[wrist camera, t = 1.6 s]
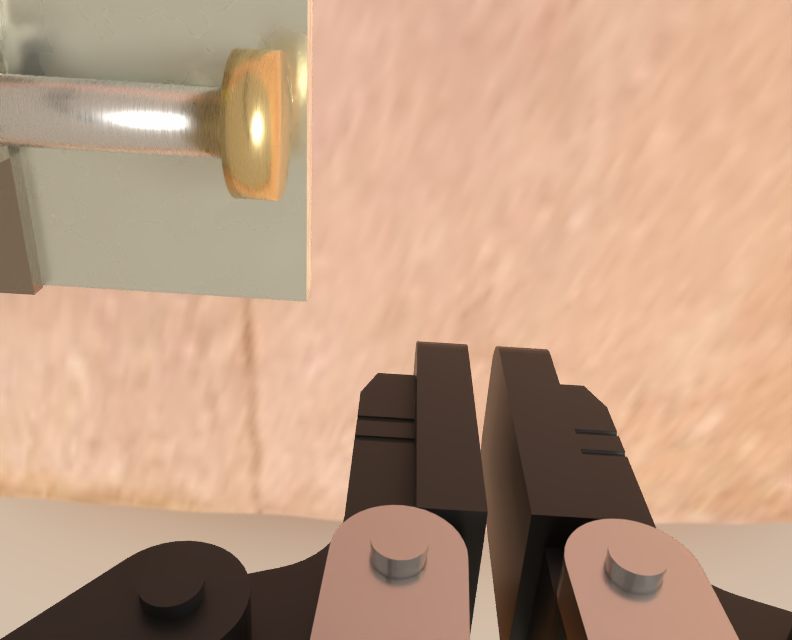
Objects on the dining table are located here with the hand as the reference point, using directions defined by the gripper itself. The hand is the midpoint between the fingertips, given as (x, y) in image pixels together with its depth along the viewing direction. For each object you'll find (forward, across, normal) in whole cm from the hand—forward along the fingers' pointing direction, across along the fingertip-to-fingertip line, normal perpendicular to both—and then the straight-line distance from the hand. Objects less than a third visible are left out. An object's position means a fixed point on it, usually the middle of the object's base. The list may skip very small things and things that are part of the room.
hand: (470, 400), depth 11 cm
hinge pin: (+19, +13, 0) cm, 23 cm away
